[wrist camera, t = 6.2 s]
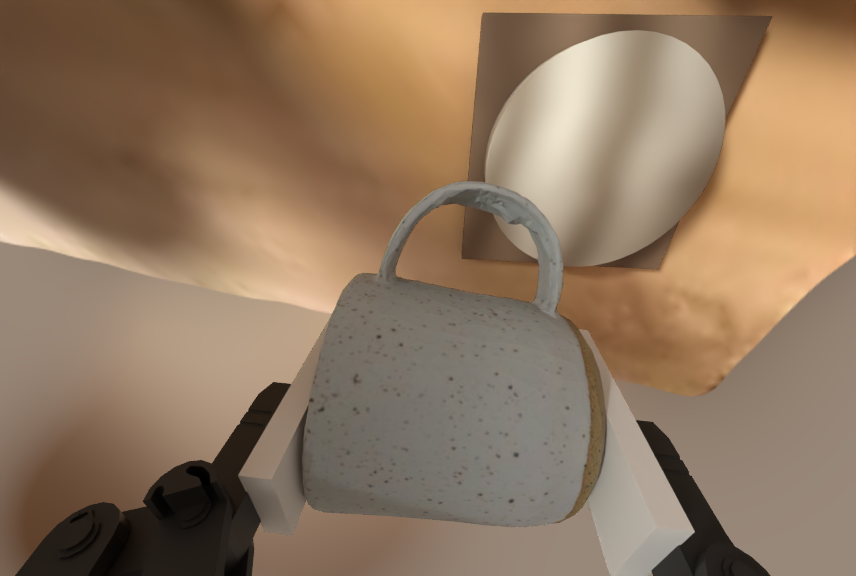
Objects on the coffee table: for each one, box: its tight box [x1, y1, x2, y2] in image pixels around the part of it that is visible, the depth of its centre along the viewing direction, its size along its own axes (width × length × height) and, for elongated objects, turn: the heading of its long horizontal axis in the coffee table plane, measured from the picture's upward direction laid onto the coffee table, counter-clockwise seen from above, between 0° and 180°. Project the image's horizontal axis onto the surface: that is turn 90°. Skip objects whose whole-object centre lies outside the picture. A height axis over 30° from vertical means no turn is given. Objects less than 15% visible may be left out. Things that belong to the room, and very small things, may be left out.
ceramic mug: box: [302, 181, 606, 527], centre depth 11 cm, size 11×8×8 cm
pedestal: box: [462, 13, 772, 269], centre depth 22 cm, size 16×16×4 cm
